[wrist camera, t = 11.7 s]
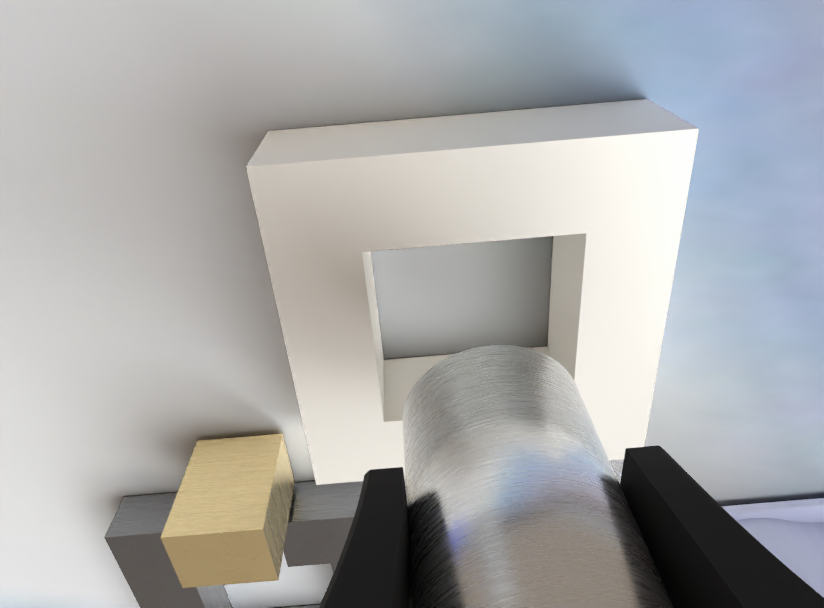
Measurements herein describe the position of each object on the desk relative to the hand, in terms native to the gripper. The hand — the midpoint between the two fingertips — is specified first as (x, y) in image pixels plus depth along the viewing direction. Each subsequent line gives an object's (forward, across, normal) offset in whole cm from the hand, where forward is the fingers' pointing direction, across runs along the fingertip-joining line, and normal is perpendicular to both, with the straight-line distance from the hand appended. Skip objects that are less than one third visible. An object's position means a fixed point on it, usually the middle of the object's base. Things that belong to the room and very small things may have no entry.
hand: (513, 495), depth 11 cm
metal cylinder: (+2, 0, 0) cm, 3 cm away
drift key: (+8, +8, +8) cm, 14 cm away
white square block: (+8, 0, 0) cm, 8 cm away
